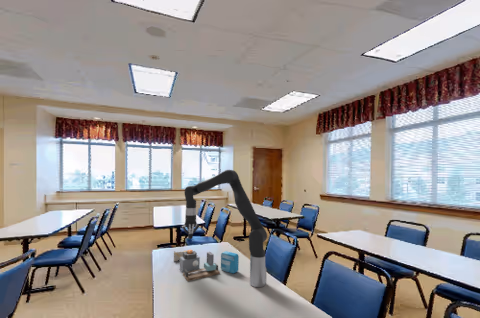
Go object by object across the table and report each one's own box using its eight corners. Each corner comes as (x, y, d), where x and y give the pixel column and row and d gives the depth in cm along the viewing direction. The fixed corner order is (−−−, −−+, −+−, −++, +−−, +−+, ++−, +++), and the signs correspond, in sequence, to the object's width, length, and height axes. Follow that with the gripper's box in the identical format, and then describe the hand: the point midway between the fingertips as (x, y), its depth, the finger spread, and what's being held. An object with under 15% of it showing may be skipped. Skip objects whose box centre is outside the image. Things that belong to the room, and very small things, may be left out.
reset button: (191, 252, 167) (191, 249, 167) (193, 254, 163) (193, 250, 164) (186, 253, 165) (186, 250, 165) (188, 255, 162) (188, 251, 162)
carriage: (211, 265, 163) (212, 251, 163) (216, 269, 157) (216, 254, 157) (203, 267, 159) (204, 252, 160) (207, 271, 153) (208, 255, 154)
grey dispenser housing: (195, 265, 170) (195, 249, 171) (199, 269, 163) (200, 253, 164) (179, 268, 164) (179, 252, 165) (182, 272, 157) (183, 256, 157)
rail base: (213, 268, 165) (213, 261, 165) (219, 273, 156) (219, 266, 156) (182, 275, 153) (183, 268, 154) (187, 281, 145) (187, 273, 145)
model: (188, 261, 179) (188, 250, 179) (174, 263, 175) (174, 252, 175) (187, 259, 182) (188, 249, 182) (173, 261, 178) (173, 251, 178)
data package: (220, 270, 162) (220, 252, 163) (224, 267, 166) (224, 250, 167) (234, 274, 156) (235, 255, 157) (238, 271, 160) (238, 254, 160)
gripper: (197, 212, 172) (197, 236, 171) (180, 213, 165) (179, 238, 164) (201, 214, 166) (201, 238, 165) (183, 215, 159) (182, 241, 158)
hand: (190, 238), depth 165 cm, fingers closed
